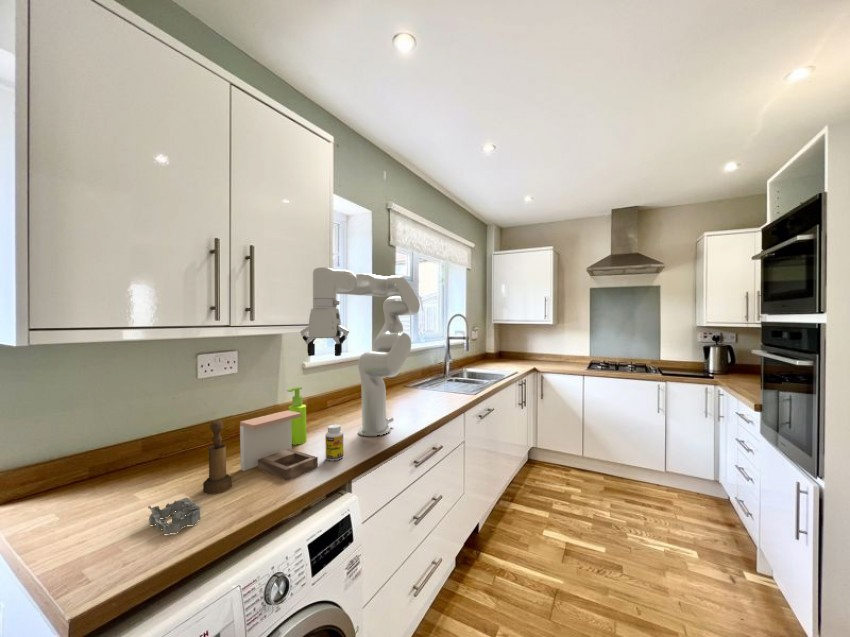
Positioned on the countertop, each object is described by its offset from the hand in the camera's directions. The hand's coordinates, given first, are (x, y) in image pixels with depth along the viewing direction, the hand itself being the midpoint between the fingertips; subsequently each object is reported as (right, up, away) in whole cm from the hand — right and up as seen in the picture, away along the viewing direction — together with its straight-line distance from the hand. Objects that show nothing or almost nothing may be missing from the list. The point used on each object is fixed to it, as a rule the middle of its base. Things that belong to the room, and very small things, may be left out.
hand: (324, 355), depth 119 cm
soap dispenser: (-13, -33, +11) cm, 37 cm away
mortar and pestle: (-21, -33, -25) cm, 46 cm away
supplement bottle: (+5, -32, -5) cm, 33 cm away
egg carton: (-21, -33, -41) cm, 56 cm away
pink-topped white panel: (-14, -33, -8) cm, 36 cm away
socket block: (-7, -32, -13) cm, 36 cm away
